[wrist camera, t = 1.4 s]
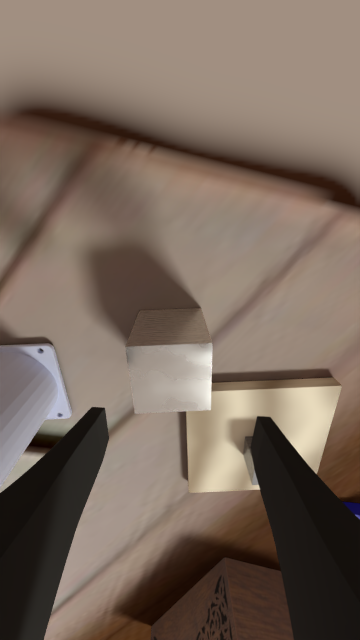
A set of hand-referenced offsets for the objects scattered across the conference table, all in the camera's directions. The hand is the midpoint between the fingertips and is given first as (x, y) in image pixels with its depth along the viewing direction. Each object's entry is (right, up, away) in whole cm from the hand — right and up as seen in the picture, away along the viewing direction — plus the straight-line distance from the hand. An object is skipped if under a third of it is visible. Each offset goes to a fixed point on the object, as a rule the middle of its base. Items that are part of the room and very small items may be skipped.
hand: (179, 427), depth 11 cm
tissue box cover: (+7, -43, +29) cm, 52 cm away
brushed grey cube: (-1, +4, +9) cm, 10 cm away
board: (+8, -7, +13) cm, 17 cm away
